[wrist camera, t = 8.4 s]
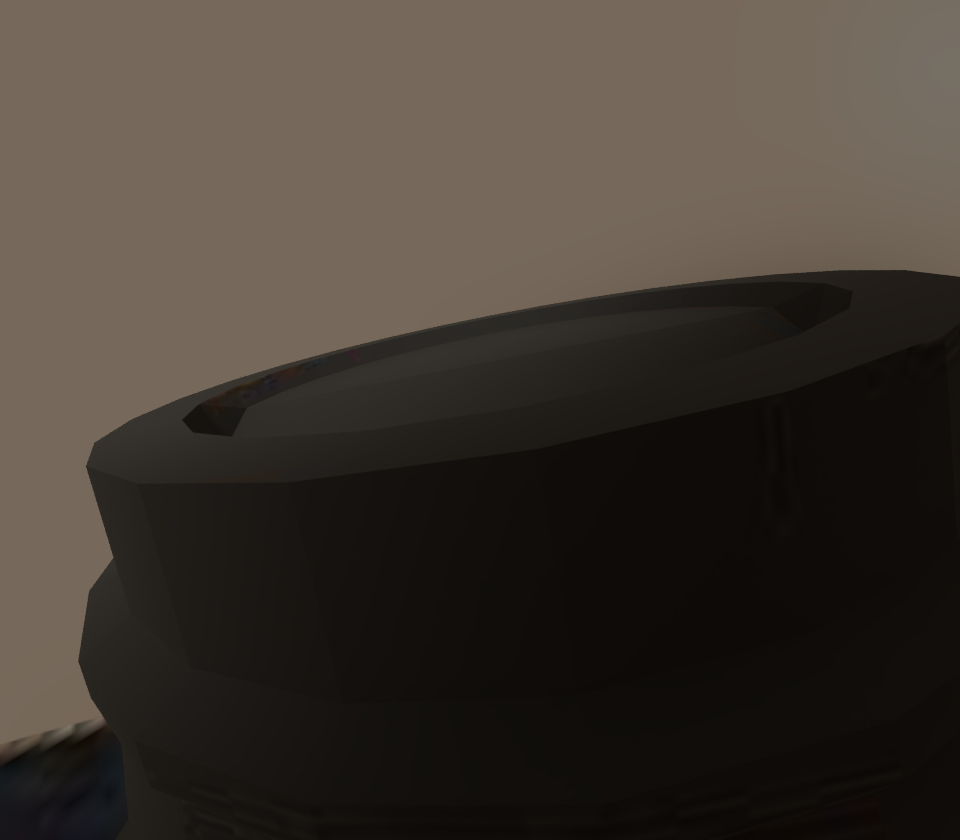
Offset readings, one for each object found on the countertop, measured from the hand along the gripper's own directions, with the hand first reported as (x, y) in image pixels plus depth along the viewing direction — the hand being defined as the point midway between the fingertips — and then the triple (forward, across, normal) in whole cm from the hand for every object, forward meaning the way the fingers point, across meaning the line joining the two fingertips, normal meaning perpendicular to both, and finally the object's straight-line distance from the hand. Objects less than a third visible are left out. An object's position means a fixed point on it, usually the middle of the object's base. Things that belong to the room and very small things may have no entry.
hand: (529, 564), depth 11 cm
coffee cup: (-5, 0, -9) cm, 10 cm away
